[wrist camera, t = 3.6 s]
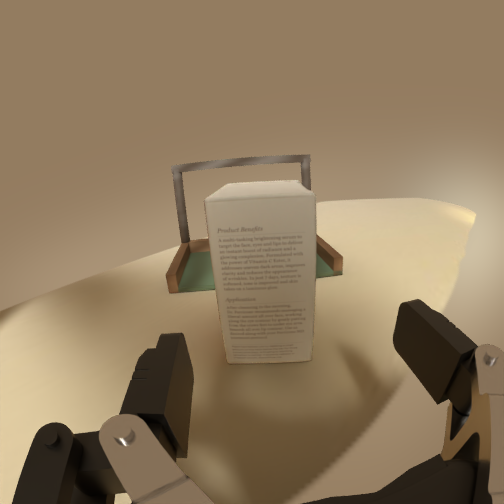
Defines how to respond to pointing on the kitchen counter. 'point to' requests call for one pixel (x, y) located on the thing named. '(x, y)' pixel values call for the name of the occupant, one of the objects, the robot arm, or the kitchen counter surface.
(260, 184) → the small box
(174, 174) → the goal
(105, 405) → the kitchen counter surface
